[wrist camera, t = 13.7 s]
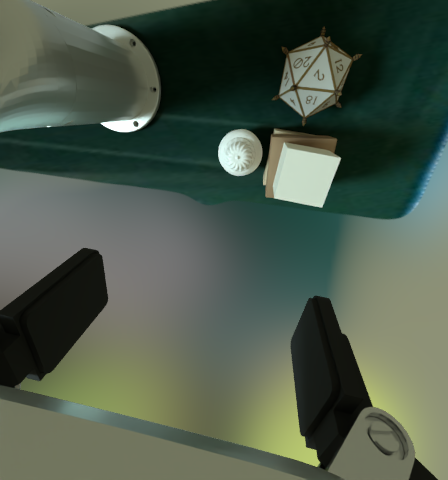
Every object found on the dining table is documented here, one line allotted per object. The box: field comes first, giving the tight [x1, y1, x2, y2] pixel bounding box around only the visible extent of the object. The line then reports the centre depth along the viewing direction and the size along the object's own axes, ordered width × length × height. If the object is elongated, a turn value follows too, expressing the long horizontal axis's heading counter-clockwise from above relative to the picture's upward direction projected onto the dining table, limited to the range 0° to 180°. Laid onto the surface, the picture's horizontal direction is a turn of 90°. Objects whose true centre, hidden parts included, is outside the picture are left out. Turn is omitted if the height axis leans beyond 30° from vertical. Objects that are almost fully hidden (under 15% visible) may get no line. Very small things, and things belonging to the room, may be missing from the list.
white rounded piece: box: [218, 129, 262, 176], centre depth 33 cm, size 6×6×7 cm
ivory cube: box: [273, 142, 341, 208], centre depth 26 cm, size 5×5×5 cm
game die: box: [272, 26, 362, 126], centre depth 27 cm, size 9×8×10 cm
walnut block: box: [266, 134, 337, 198], centre depth 30 cm, size 7×7×4 cm
